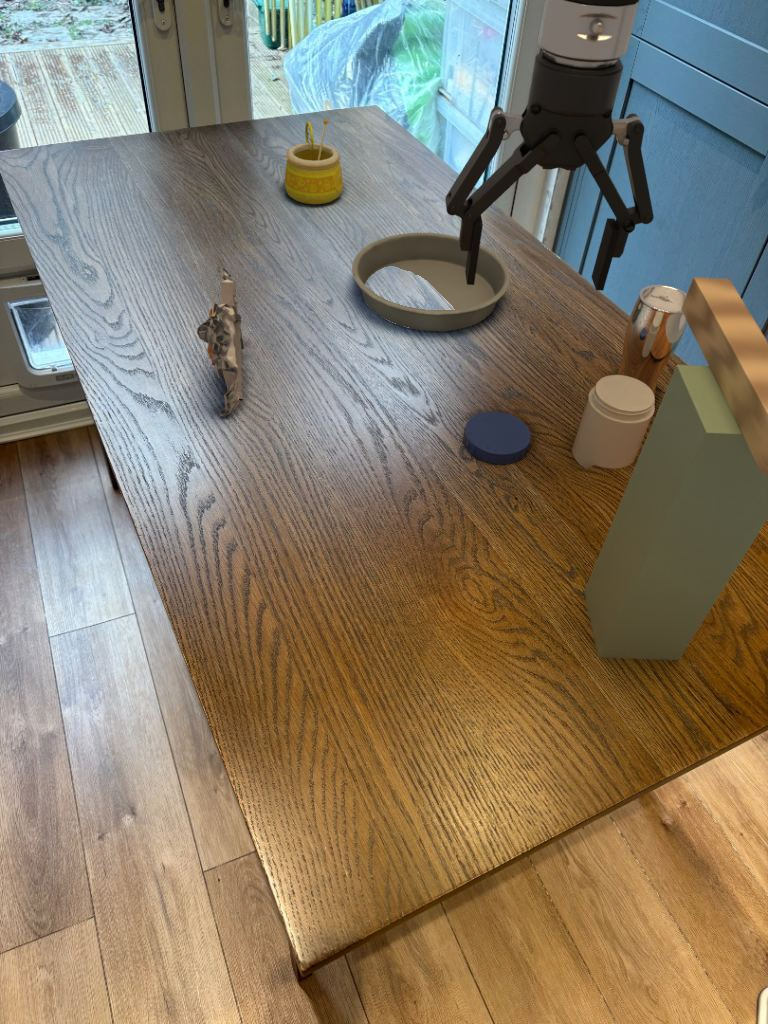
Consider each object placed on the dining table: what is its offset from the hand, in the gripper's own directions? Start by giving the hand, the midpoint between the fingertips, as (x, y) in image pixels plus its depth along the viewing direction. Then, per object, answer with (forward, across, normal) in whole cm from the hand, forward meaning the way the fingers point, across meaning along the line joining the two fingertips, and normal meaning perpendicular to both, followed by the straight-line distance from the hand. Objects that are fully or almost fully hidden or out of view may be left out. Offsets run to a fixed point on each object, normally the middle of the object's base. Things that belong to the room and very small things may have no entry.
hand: (533, 281), depth 79 cm
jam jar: (+23, +13, -1) cm, 26 cm away
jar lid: (+21, 0, 0) cm, 21 cm away
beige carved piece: (+23, -36, +10) cm, 44 cm away
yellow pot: (+22, -28, +70) cm, 78 cm away
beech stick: (-7, +10, -26) cm, 29 cm away
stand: (+23, +10, -28) cm, 38 cm away
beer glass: (+23, +20, +12) cm, 32 cm away
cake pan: (+23, -8, +35) cm, 43 cm away
